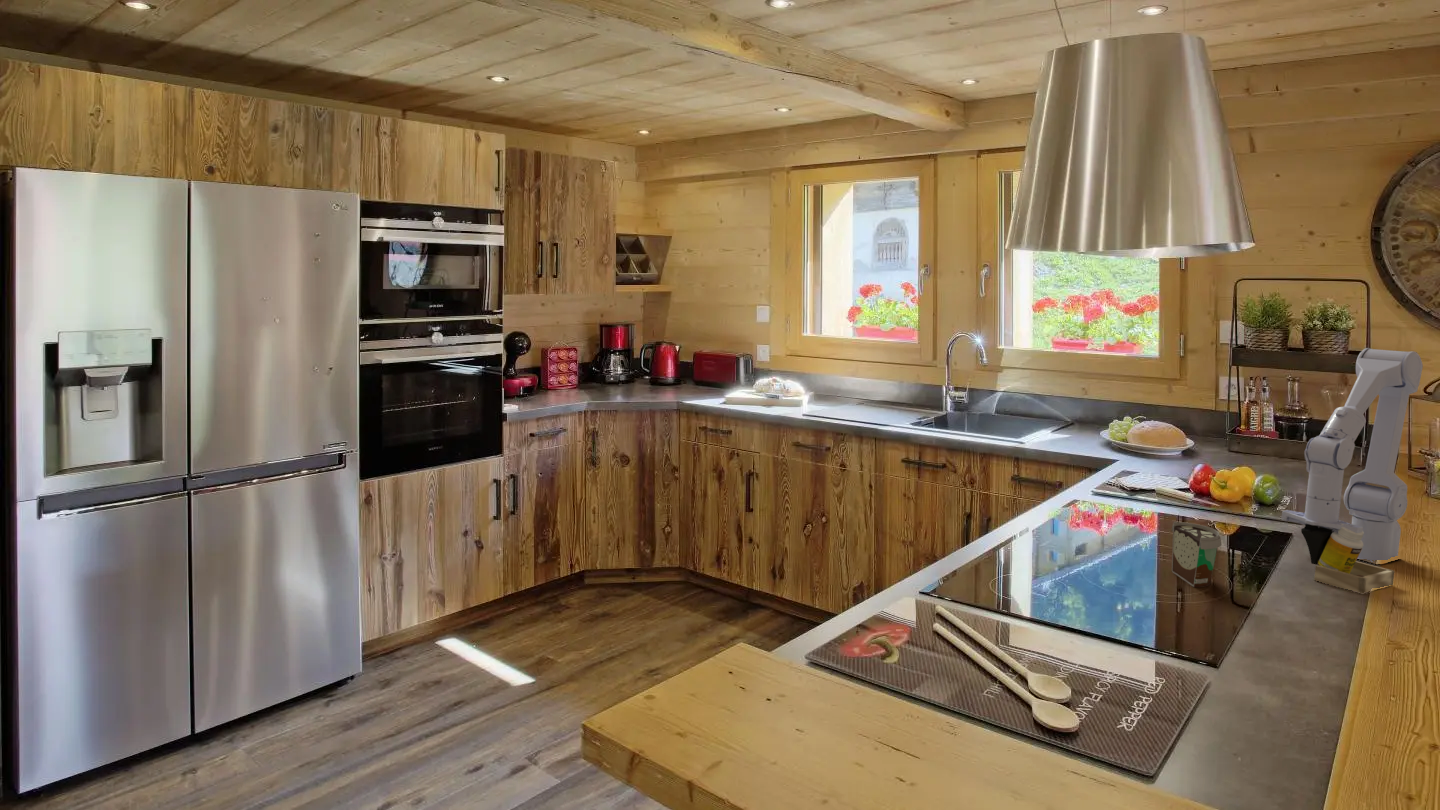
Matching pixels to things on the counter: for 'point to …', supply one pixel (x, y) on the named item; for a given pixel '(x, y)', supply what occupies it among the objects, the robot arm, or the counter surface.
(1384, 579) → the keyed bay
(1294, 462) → the counter surface
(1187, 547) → the food container
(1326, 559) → the supplement bottle
